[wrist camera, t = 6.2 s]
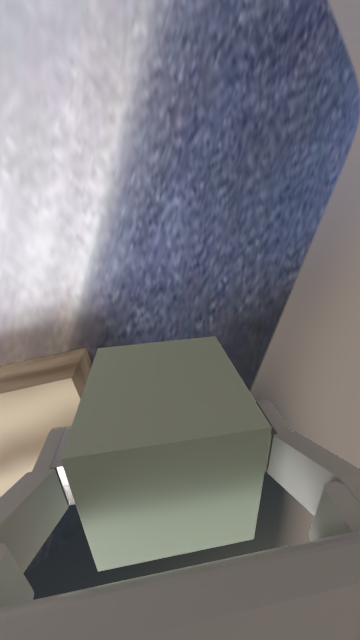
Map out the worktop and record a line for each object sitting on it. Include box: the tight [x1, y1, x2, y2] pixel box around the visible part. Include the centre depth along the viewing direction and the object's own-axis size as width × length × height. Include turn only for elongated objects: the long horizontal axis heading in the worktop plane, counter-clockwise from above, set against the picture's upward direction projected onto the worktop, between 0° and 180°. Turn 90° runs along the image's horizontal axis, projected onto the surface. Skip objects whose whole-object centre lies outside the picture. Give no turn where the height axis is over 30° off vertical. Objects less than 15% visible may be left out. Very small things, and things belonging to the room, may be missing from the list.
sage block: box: [61, 337, 272, 571], centre depth 9 cm, size 5×5×5 cm
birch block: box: [0, 348, 92, 497], centre depth 21 cm, size 10×10×5 cm
